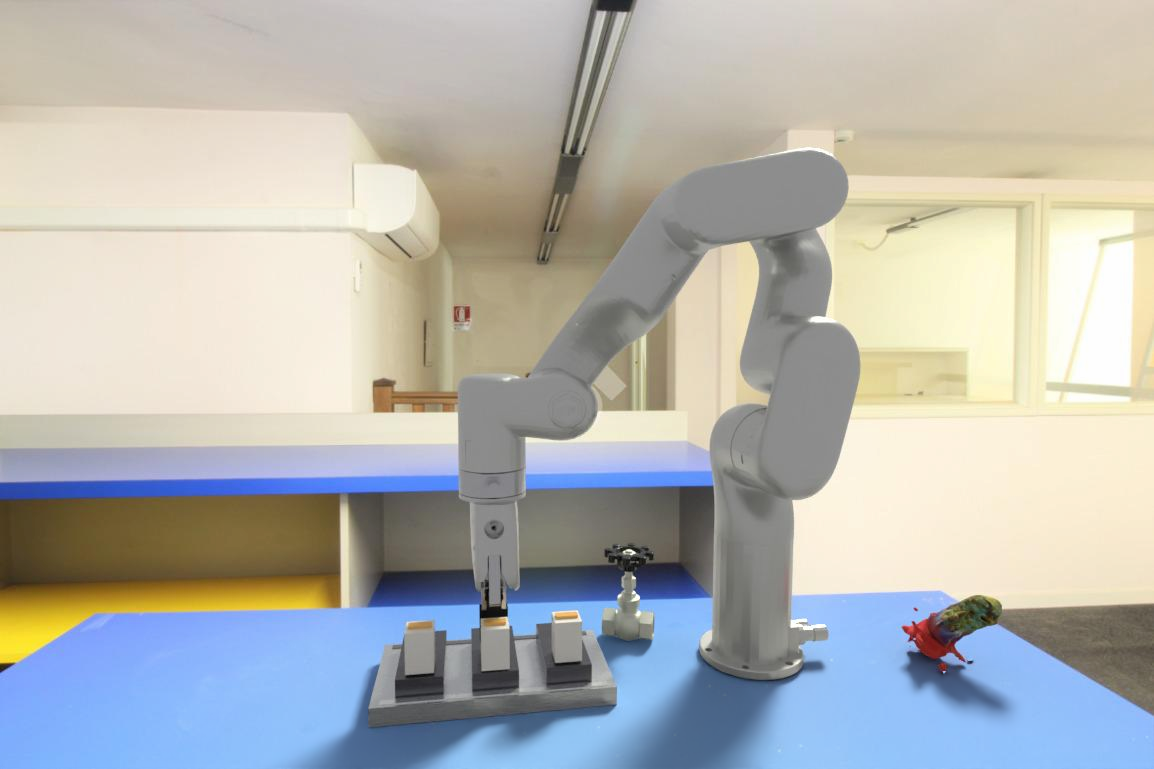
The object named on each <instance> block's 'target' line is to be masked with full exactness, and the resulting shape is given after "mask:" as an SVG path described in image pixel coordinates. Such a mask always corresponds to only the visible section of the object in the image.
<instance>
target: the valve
mask: <svg viewBox="0 0 1154 769" xmlns="http://www.w3.org/2000/svg"><path fill="white" fill-rule="evenodd" d="M611 545H612V546H611V547H606V548H604V549H603V557H604V558H607V562H608V563H609V564H615V563H616V564H617V567H618V569H619V570H621V571H623V572H624V575H623V576H621V588H622V589H623V590H622V591H621V592H620V593H619V594H618V595H617V598H616V599H617V600H616V602H617V603H616V604H617V606H618V607H619V609H618V608H615V607H614V608H613V607H612V608H611V607H604V609H603V612H602V616H601V634H602V635H603V636H608V637H609V636H610V637H617V638H619V639H621V640H623V641H627V642H630V641H635V640H637V639H639V640H641V639H642V640H648V641H649V640H650V641H653V639H654V637H655V636H654V635H655V622H656V620H655V618H656V617H655V612H654V611H647V610H639V609H638V608H639V607H640V604H641V599H640V598H641V597H640V595H639V594H637V593H636V591H635V590H634V589H636V588H637V578H636V577H635V576H634V575H633V574H634V572H637V569H639V568H642V567H644V566H645V565H647V564H648V560H649V561H650V562H651V561H654V560H655V552H654V550H650V546H649V545H641V546H636V543H634V542H628V543H627V544H626V545H621V544H620V543H613V544H611ZM647 559H648V560H647Z"/></svg>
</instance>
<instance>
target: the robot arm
mask: <svg viewBox="0 0 1154 769" xmlns="http://www.w3.org/2000/svg"><path fill="white" fill-rule="evenodd" d="M848 194H849V178H848V175H847V171H846V169H845V167H844V166H843V164H842V163H841V161H839V159H838V158H836V157H835V156H834V155H833V154H832V153H829V152H828V151H825V150H823V149H820V148H815V147H814V148H812V147H804V148H803V147H802V148H796V149H790V150H786V151H780V152H776V153H771V154H765V155H761V156H755V157H750V158H745V159H744V158H743V159H740V160H733V161H726V162H723V163H717V164H712V165H707V166H704V167H700V168H696V169H695V170H692V171H690V172H689V173H687V174H685V175H684V176H682V177H681V178H678V179H677V180H676V181H674V182H672V183H671V184H670V185H668V186H667V187H665V188H664V189H663V190H662V191H661V192H660V193H659V194H657V196H656V197H655V199H654V200H653V201H652V203H651V204H650V205H649V207H648V208H647V210H646V211H645V213H644V214H643V216H641V218H640V220H639V221H638V223H637V224H636V226H634V229H633V230H632V232H630V234H629V236H628V237H627V239H626V240H625V242H624V243H623V245H622V246H621V248H620V249H619V250H618V252H617V253H616V255H615V257H614V258H612V260H611V262H610V263H609V264H608V266H607V268H606V269H605V271H603V274H602V275H601V276H600V277H599V279H598V280H597V282H596V283H595V284H594V286H593V287H592V288H591V289H590V290H589V292H588V293H587V294H586V296H585V297H584V298H583V300H582V302H581V303H580V305H579V306H578V307H577V309H576V310H575V311H574V313H573V314H572V315H571V316H570V317H569V319H568V320H567V322H566V323H565V324H564V326H563V327H562V328H561V329H560V331H559V332H558V333H557V334H556V336H555V337H554V338H553V340H552V341H551V343H550V344H549V345H548V347H547V348H546V350H545V351H544V353H543V354H542V356H541V357H540V358H539V360H538V362H537V363H536V364H535V365H534V367H533V368H532V370H531V372H530V373H529V375H528V376H527V377H520V376H519V375H515V374H510V373H500V372H499V373H497V372H496V373H495V372H494V373H486V372H485V373H473V374H468V375H465V376H464V377H462V378H461V379H460V381H459V383H458V387H457V431H458V432H457V434H458V435H457V436H458V439H457V442H458V449H457V450H458V451H457V452H458V457H457V458H458V498H459V499H460V500H462V501H463V502H464V501H465V502H467V503H469V513H470V514H469V520H470V521H469V526H470V546H471V561H472V567H473V578H474V584H475V585H474V586H475V590H477V592H479V593H481V594H480V595H481V596H480V597H481V599H480V600H481V601H480V602H481V603H479V604H478V605H479V610H478V611H479V614H478V615H479V628H480V642H481V619H482V618H497V617H508V618H509V607H508V601H507V587H508V589H509V590H510V589H513V590H514V591H517V590H519V588H520V587H521V583H520V542H519V540H520V535H519V512H518V511H519V510H518V501H519V500H521V499H524V498H525V497H526V495H527V494H526V492H527V490H526V489H527V488H526V486H527V482H526V480H527V479H526V478H527V476H526V474H527V473H526V470H527V468H526V453H527V452H526V438H533V439H541V440H549V441H550V440H551V441H561V442H562V441H570V440H574V439H575V440H576V439H577V438H580V437H581V436H583V435H585V434H586V433H587V432H588V431H589V430H590V429H591V428H592V426H594V424H595V423H596V419H597V417H598V412H599V411H598V410H599V405H598V404H599V403H598V399H597V395H596V393H595V391H594V390H593V388H592V387H593V386H594V385H595V382H596V381H597V380H598V378H599V377H600V376H601V374H602V373H603V372H604V371H605V369H606V368H607V366H608V365H609V364H610V363H611V362H612V361H613V360H614V359H615V357H617V355H619V354H620V353H621V352H622V351H623V350H624V349H626V348H627V347H629V346H630V345H631V344H632V343H634V342H636V341H639V339H641V338H643V337H644V336H645V335H647V334H648V333H649V332H650V331H652V329H654V328H655V327H656V326H657V325H658V324H659V322H661V320H662V319H663V317H664V316H665V315H666V313H667V311H668V309H670V308H671V307H670V306H671V305H672V304H673V303H674V301H675V300H676V298H677V296H678V295H679V293H680V292H681V291H682V288H684V286H685V285H686V283H687V282H688V280H689V279H690V277H691V275H692V274H693V273H694V271H695V270H696V268H697V267H698V266H699V265H700V263H701V262H702V260H703V259H704V257H705V255H706V254H707V253H708V252H709V251H710V250H714V249H716V248H720V247H724V246H730V245H734V244H735V245H736V244H742V243H748V242H749V244H750V246H751V247H752V249H753V250H754V253H755V255H756V259H757V262H758V281H757V287H756V292H755V297H754V302H753V305H752V309H751V312H750V313H751V314H750V317H749V319H748V320H749V321H748V325H747V329H746V333H745V336H744V340H743V343H742V348H741V352H740V357H739V369H740V373H741V376H742V377H743V379H744V382H746V384H747V385H749V387H751V388H752V389H754V390H755V391H758V392H760V393H763V394H766V395H769V399H768V402H767V405H765V404H761V403H760V404H759V403H743V404H739V405H735V406H733V407H731V408H729V409H727V410H726V411H725V412H723V414H721V415H720V416H719V418H718V419H717V420H716V421H715V424H714V426H713V427H712V430H711V433H710V434H711V435H710V439H709V459H710V461H709V462H710V468H711V476H712V483H713V495H714V496H713V497H714V499H713V501H714V519H713V520H714V528H713V573H712V578H713V579H712V617H711V618H712V619H711V620H712V621H711V622H712V624H711V629H709V630H708V631H706V632H704V633H703V635H702V636H700V639H699V646H698V648H699V654H700V655H701V657H702V658H703V660H704V661H706V663H707V664H709V665H710V666H712V667H713V668H714V669H717V670H719V671H721V672H723V673H725V674H728V675H731V676H734V677H738V678H742V679H746V680H747V679H749V680H755V681H756V680H758V681H759V680H760V681H768V680H769V681H771V680H774V681H775V680H781V679H785V678H787V677H790V676H792V675H794V674H795V675H796V673H798V672H799V671H800V670H801V669H802V667H803V665H804V658H805V657H804V656H805V655H804V651H803V649H802V647H801V646H803V645H804V646H805V643H806V642H824V641H828V639H829V630H828V628H827V626H826V625H825V624H824V623H823V624H811V625H809V623H808V620H807V619H806V618H799V619H798V618H797V619H792V610H793V609H792V605H793V604H792V603H793V578H794V577H793V570H794V569H793V568H794V543H795V542H794V540H795V511H794V503H793V501H802V500H807V499H808V498H810V497H813V496H815V495H817V494H818V493H819V492H820V491H822V490H823V489H824V488H825V487H826V485H827V484H828V483H829V481H830V479H831V478H832V476H833V475H834V472H835V470H836V468H837V466H838V462H839V459H840V456H841V453H842V449H843V445H844V441H845V437H846V433H847V429H848V425H849V422H850V419H851V414H852V410H853V406H854V402H855V399H856V397H857V396H856V395H857V391H858V387H859V381H860V378H861V355H860V350H859V347H858V344H857V341H856V340H855V338H854V336H853V335H852V333H851V331H850V330H849V329H848V328H847V327H846V326H844V324H842V323H840V322H839V321H837V320H834V319H833V318H829V317H826V315H827V310H828V305H829V301H830V296H831V290H832V283H833V265H832V261H831V257H830V254H829V252H828V249H827V247H826V245H825V243H824V241H823V239H822V237H821V234H819V232H818V230H817V228H820V227H823V226H826V225H827V224H828V223H830V222H832V221H833V219H835V218H836V217H837V216H838V214H840V212H841V211H842V209H843V207H844V205H845V204H846V201H847V198H848Z"/></svg>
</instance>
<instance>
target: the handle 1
mask: <svg viewBox="0 0 1154 769" xmlns="http://www.w3.org/2000/svg"><path fill="white" fill-rule="evenodd" d="M404 629H405V630H404V633H403V638H404V647H405V675H414V674H426V673H434V668H435V631H436V621H435V619H431V620H430V619H429V620H427V619H425V620H413V621H406V623H405V628H404Z"/></svg>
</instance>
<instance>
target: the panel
mask: <svg viewBox="0 0 1154 769" xmlns="http://www.w3.org/2000/svg"><path fill="white" fill-rule="evenodd" d="M470 632H471V638H463V639H462V638H460V639H449V640H447V630H444V629H443V630H435V668H434V673H426V674H414V675H405V647H404V637H403V638H402V643H395V644H394V643H393V644H385V645H384V646H383V651H382V656H381V659H380V663H379V666H378V667H379V668H378V670H377V674H376V677H375V678H376V679H375V682H374V686H373V689H372V694H371V697H370V701H369V705H368V728H376V727H377V728H379V727H389V726H399V725H412V724H420V723H432V722H442V721H454V720H465V719H474V718H475V719H476V718H485V717H488V718H489V717H496V716H499V717H500V716H507V715H518V714H529V713H531V714H532V713H539V712H552V711H559V710H560V711H561V710H562V711H563V710H574V709H583V708H585V709H586V708H594V707H595V708H596V707H606V706H615V705H618V702H617V701H618V686H617V684H616V681H615V679H614V677H613V675H612V672H611V670H610V667H609V665H608V663H607V660H606V658H605V655H604V653H603V651H602V649H601V647H600V644H599V641H598V639H597V637H596V635H595V633H594V632H595V631H594V630H593V629H587V630H582V661H576V662H563V663H555V661H554V657H553V653H552V622H546V623H535V633H531V634H518V635H516V634H515V635H514V629H513V626H512V625H509V633H510V669H504V670H492V671H482V670H481V642H480V627H476V628H475V627H474V628H473V627H472V628H471V631H470Z"/></svg>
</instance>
